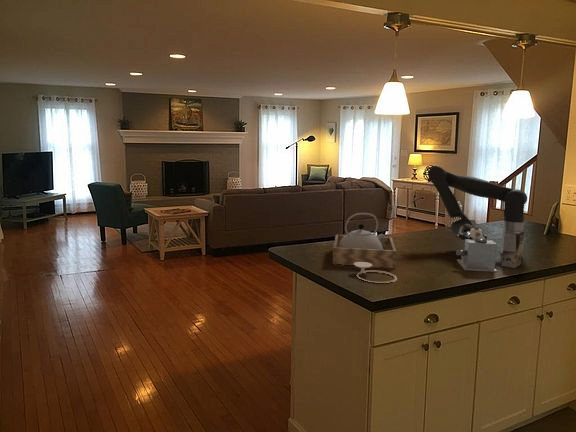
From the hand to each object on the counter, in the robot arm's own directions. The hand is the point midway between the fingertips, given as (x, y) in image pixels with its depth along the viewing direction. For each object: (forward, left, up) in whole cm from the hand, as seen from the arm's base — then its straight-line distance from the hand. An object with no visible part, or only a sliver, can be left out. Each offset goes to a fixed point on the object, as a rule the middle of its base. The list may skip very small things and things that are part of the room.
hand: (476, 240), depth 219 cm
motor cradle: (+1, +1, -12) cm, 12 cm away
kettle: (+52, -2, -12) cm, 54 cm away
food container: (-12, -68, -12) cm, 70 cm away
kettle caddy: (+52, -2, -12) cm, 53 cm away
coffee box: (-17, -4, -12) cm, 21 cm away
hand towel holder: (+48, +29, -13) cm, 57 cm away
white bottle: (0, -3, -6) cm, 7 cm away
